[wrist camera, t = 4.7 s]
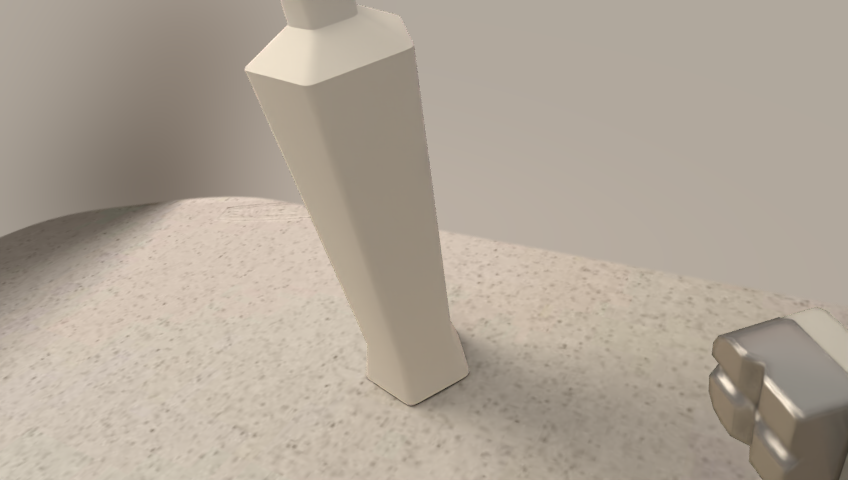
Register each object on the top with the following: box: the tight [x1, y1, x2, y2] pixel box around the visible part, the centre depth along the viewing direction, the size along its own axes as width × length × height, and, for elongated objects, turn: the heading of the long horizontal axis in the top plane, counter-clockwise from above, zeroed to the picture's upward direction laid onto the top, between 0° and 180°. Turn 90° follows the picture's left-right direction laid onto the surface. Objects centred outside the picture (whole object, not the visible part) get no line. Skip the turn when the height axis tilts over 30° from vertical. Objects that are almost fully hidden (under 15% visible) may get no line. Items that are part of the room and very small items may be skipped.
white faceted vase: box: [245, 0, 469, 405], centre depth 20 cm, size 5×4×15 cm
